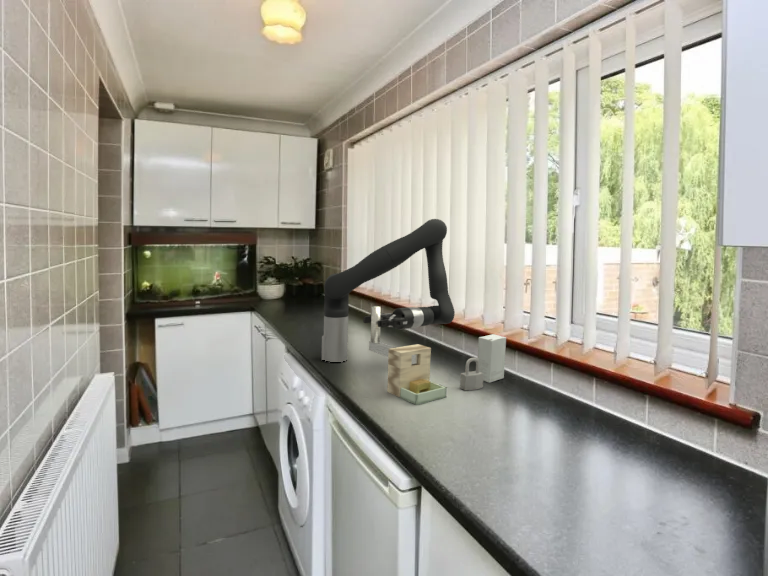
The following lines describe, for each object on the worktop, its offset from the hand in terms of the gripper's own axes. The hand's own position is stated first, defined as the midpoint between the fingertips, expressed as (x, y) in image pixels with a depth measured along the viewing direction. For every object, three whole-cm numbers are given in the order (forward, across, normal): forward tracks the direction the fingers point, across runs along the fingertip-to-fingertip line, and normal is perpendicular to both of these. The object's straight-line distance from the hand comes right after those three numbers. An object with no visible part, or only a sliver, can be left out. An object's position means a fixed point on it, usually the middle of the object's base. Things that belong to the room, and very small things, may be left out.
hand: (371, 321), depth 151 cm
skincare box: (-34, +24, +19) cm, 46 cm away
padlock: (-21, +27, +19) cm, 39 cm away
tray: (-2, +25, +19) cm, 31 cm away
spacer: (-2, +23, +18) cm, 30 cm away
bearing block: (-2, +18, +19) cm, 26 cm away
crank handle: (-2, +9, +10) cm, 14 cm away
